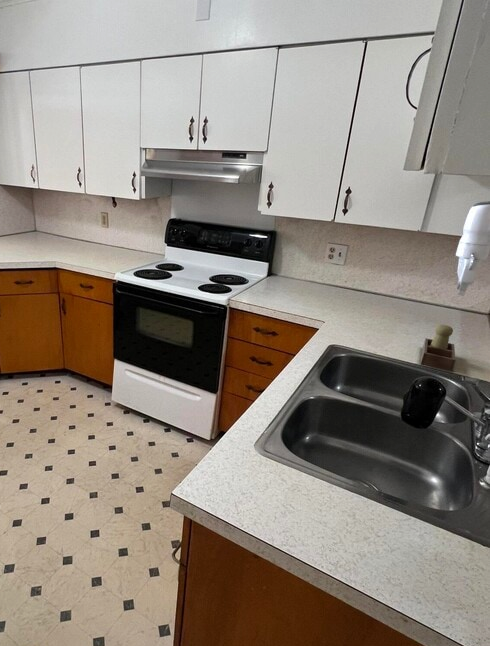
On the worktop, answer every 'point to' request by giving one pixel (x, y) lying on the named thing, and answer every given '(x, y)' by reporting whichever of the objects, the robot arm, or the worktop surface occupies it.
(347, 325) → the worktop surface
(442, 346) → the cork
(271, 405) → the worktop surface
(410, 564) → the worktop surface
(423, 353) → the rack
